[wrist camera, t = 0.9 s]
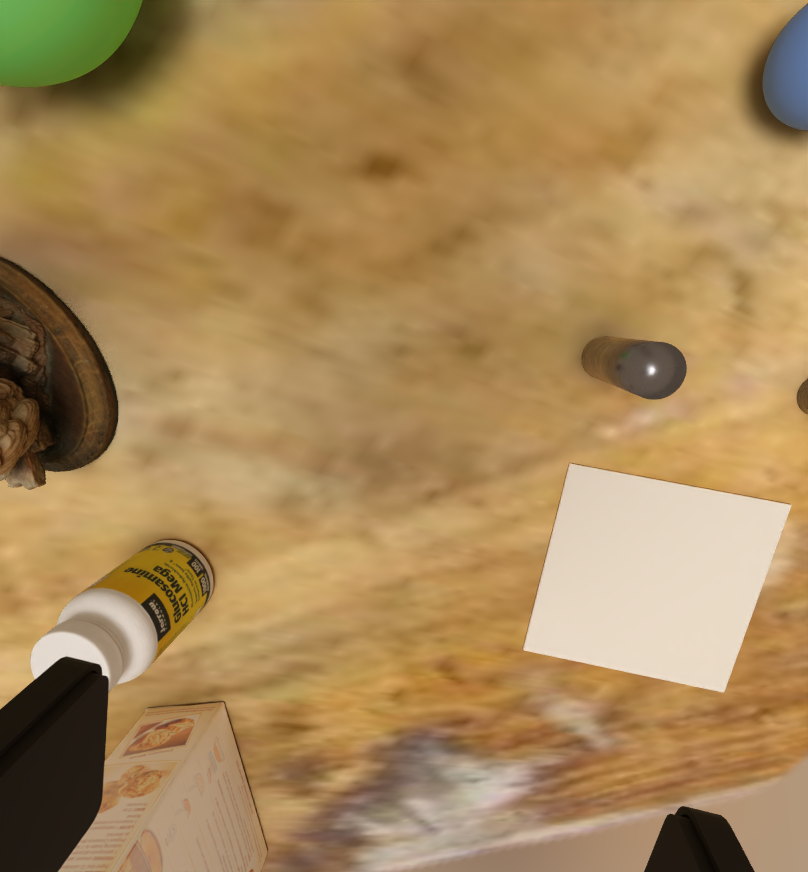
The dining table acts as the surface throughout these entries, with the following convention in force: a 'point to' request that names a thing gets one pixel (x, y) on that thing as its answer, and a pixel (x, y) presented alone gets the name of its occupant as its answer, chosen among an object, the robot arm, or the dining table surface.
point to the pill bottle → (130, 612)
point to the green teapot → (59, 38)
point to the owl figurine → (48, 385)
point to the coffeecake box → (174, 800)
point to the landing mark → (652, 576)
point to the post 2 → (803, 397)
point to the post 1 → (636, 365)
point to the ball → (789, 73)
